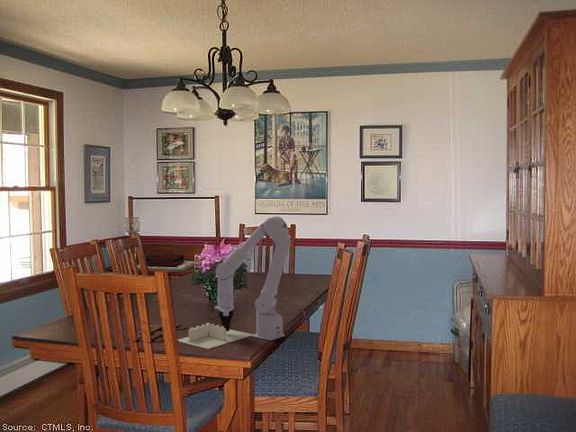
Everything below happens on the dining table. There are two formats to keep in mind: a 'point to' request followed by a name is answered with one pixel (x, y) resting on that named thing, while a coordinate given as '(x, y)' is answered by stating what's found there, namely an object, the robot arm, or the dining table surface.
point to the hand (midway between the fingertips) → (226, 330)
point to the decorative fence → (159, 332)
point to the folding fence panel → (217, 332)
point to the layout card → (216, 339)
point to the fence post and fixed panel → (199, 332)
